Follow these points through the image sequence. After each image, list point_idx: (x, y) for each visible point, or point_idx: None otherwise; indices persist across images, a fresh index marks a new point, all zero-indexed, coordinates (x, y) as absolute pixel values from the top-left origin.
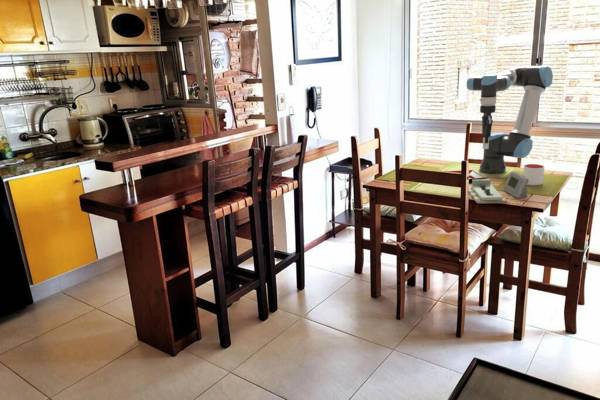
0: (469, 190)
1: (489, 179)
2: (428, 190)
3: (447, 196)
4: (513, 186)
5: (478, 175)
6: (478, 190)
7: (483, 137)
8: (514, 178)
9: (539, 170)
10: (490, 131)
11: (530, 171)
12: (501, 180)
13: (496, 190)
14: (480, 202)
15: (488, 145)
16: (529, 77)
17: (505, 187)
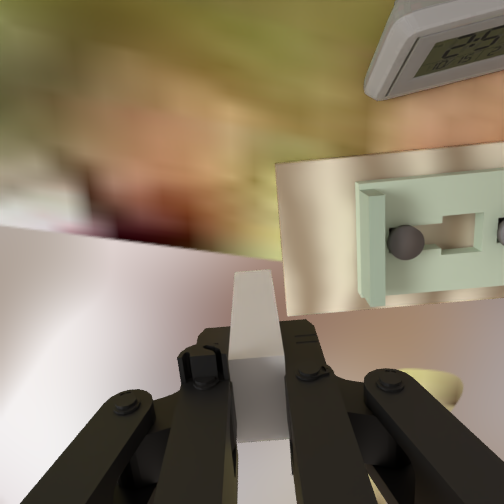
0: (403, 303)
1: (371, 199)
2: None
3: (455, 403)
4: (500, 51)
5: (13, 197)
6: (478, 272)
7: (261, 434)
8: (494, 29)
9: None
10: (494, 468)
11: None
12: (126, 64)
13: (416, 153)
14: None
15: (272, 288)
16: None
17: (400, 91)
